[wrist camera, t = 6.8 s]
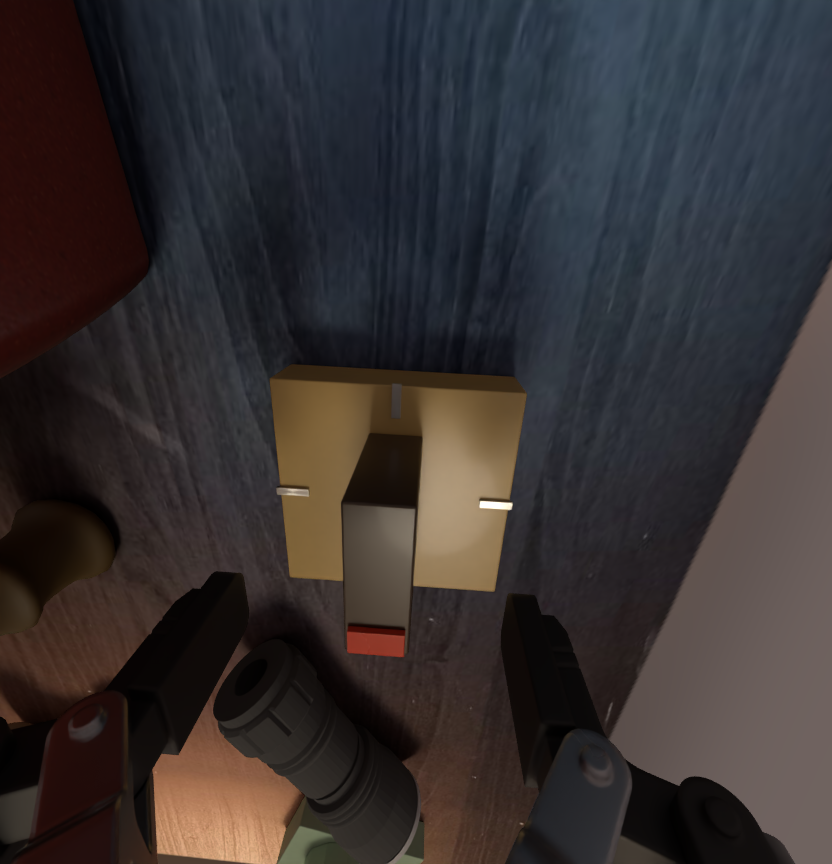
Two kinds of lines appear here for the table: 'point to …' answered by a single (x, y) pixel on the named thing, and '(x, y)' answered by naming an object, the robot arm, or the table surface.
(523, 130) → the table surface
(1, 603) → the kendama
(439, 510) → the plate
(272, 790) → the table surface
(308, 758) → the flashlight
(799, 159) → the table surface
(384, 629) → the thumb turn
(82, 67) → the flower pot
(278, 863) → the green button base
